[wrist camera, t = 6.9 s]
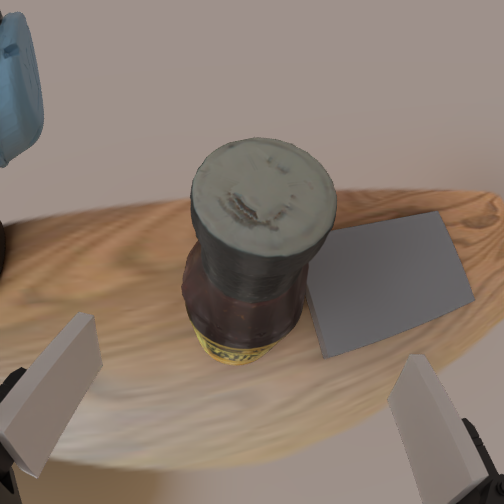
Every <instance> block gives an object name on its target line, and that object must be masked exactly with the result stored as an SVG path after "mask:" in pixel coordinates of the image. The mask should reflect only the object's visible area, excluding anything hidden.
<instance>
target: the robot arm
mask: <svg viewBox="0 0 504 504" xmlns="http://www.w3.org/2000/svg"><path fill="white" fill-rule="evenodd" d="M43 122H44V109H43V99H42V92H41V85H40V79H39V73H38V67H37V62H36V57H35V52H34V47H33V42H32V38H31V33H30V30H29V27H28V26H27V22H26V18H25V16H24V15H23V13H21V12H15V13H8V14H7V15H5V16H4V17H3V16H2V14H1V11H0V167H2V168H4V167H6V166H7V165H8V163H9V161H11V160H12V159H13V158H15V157H16V156H18V155H19V154H21V153H22V152H24V151H25V150H27V149H28V148H30V147H31V146H32V145H33V144H34V143H35V142H36V141H37V140H38V138H39V137H40V135H41V132H42V129H43V124H44V123H43ZM4 254H5V233H4V228H3V225H2V223H1V221H0V273H1V269H2V265H3V261H4ZM102 366H103V364H102V359H101V354H100V349H99V344H98V338H97V332H96V326H95V319H94V315H90V314H86V313H82V312H78V313H77V314H76V315H75V316H74V317H73V319H72V320H71V321H70V322H69V323H68V324H67V325H66V326H65V327H64V328H63V329H62V331H61V332H60V333H59V334H58V335H57V336H56V337H55V338H54V339H53V341H52V342H51V343H50V344H49V345H48V346H47V347H46V349H45V350H44V351H43V352H42V353H41V354H40V356H39V357H38V358H37V359H36V360H35V361H34V363H33V364H32V365H31V366H30V367H29V368H28V370H27V369H24V368H22V367H21V368H19V369H17V370H16V371H14V372H12V373H11V374H10V375H9V376H8V377H7V378H6V379H5V381H4V382H3V384H1V385H0V504H22V502H21V498H20V495H19V491H18V487H17V483H16V479H15V475H14V471H13V469H12V467H11V466H12V464H13V462H15V463H16V464H17V465H18V467H19V468H20V469H21V470H22V471H24V472H26V473H28V474H30V475H31V476H33V477H35V478H37V479H38V477H39V475H40V473H41V471H42V469H43V467H44V465H45V464H46V462H47V460H48V458H49V456H50V454H51V453H52V451H53V449H54V447H55V445H56V443H57V442H58V440H59V438H60V436H61V435H62V433H63V431H64V429H65V428H66V426H67V424H68V422H69V421H70V419H71V417H72V415H73V414H74V412H75V410H76V409H77V407H78V405H79V404H80V402H81V400H82V399H83V397H84V395H85V394H86V392H87V390H88V389H89V387H90V385H91V384H92V382H93V380H94V379H95V377H96V376H97V374H98V372H99V371H100V369H101V368H102ZM387 400H388V403H389V406H390V408H391V411H392V414H393V416H394V419H395V422H396V425H397V427H398V430H399V433H400V436H401V438H402V442H403V444H404V447H405V450H406V453H407V456H408V459H409V462H410V465H411V468H412V471H413V474H414V477H415V481H416V484H417V487H418V490H419V494H420V497H421V500H422V503H423V504H504V475H503V474H500V475H499V474H498V472H497V470H496V468H495V466H494V464H493V462H492V460H491V458H490V456H489V454H488V452H487V450H486V448H485V446H483V442H482V440H481V438H479V434H478V432H477V431H476V429H475V427H474V426H473V425H472V424H471V423H470V422H469V421H468V420H467V419H466V418H463V419H461V418H460V416H459V414H458V412H457V410H456V408H455V407H454V405H453V403H452V401H451V399H450V398H449V396H448V394H447V392H446V390H445V389H444V387H443V385H442V384H441V382H440V380H439V378H438V377H437V375H436V373H435V372H434V370H433V368H432V367H431V365H430V363H429V362H428V360H427V358H426V357H425V355H424V354H410V355H409V357H408V359H407V362H406V364H405V366H404V368H403V370H402V372H401V374H400V376H399V378H398V380H397V382H396V384H395V386H394V388H393V389H392V391H391V393H390V395H389V397H388V399H387Z"/></svg>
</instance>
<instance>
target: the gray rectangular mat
mask: <svg viewBox="0 0 504 504" xmlns="http://www.w3.org/2000/svg"><path fill="white" fill-rule="evenodd" d="M305 296H306V299H307V303H308V306H309V309H310V313H311V316H312V320H313V323H314V326H315V330H316V333H317V337H318V340H319V344H320V347H321V351H322V355H323V358H324V359H327V358H330V357H333V356H336V355H339V354H343V353H346V352H349V351H352V350H355V349H358V348H361V347H364V346H366V345H369V344H372V343H375V342H378V341H380V340H383V339H386V338H389V337H391V336H394V335H396V334H399V333H402V332H404V331H407V330H409V329H412V328H414V327H417V326H419V325H422V324H424V323H426V322H429V321H431V320H433V319H436V318H438V317H440V316H443V315H445V314H447V313H449V312H451V311H454V310H456V309H458V308H460V307H462V306H464V305H466V304H469V303H471V302H473V301H475V298H474V296H473V293H472V290H471V287H470V284H469V282H468V279H467V276H466V274H465V271H464V269H463V266H462V264H461V261H460V259H459V256H458V254H457V252H456V249H455V247H454V245H453V242H452V240H451V238H450V236H449V233H448V231H447V229H446V227H445V225H444V223H443V220H442V218H441V216H440V214H439V212H438V211H434V212H428V213H423V214H418V215H412V216H407V217H402V218H396V219H391V220H386V221H380V222H375V223H370V224H365V225H359V226H354V227H349V228H344V229H338V230H333V231H330V232H329V234H328V236H327V238H326V241H325V242H324V244H323V246H322V247H321V249H320V250H319V251H318V253H317V254H316V255H315V256H314V258H313V259H312V260H311V261H310V262H309V270H308V276H307V283H306V289H305Z"/></svg>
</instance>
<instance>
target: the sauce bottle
mask: <svg viewBox="0 0 504 504" xmlns="http://www.w3.org/2000/svg"><path fill="white" fill-rule="evenodd" d="M190 198H191V218H192V224H193V227H194V229H195V232H196V237H197V238H198V241H197V243H196V244H195V245H194V247H193V248H192V250H191V251H190V253H189V255H188V257H187V261H186V267H185V271H184V274H183V284H182V286H181V288H182V295H183V297H184V300H185V305H186V310H187V313H188V316H189V319H190V321H191V323H192V326H193V328H194V330H195V332H196V335H197V337H198V339H199V342H200V344H201V346H202V347H203V349H204V350H205V351H206V352H207V353H208V354H209V355H210V356H211V357H212V358H213V359H215V360H216V361H219V362H221V363H224V364H228V365H244V364H248V363H251V362H254V361H256V360H257V359H259V358H260V357H262V356H263V355H264V354H265V353H266V352H267V351H269V350H270V349H271V348H272V347H273V346H274V345H276V344H277V343H278V342H279V341H280V340H281V339H283V338H284V337H285V336H286V335H287V334H288V333H289V332H290V331H291V330H292V329H293V328H294V327H295V325H296V324H297V322H298V320H299V318H300V315H301V312H302V308H303V302H304V296H305V289H306V283H307V276H308V270H309V262H310V261H311V260H312V259H313V258H314V256H315V255H316V254H317V253H318V251H319V250H320V249H321V247H322V246H323V244H324V242H325V241H326V238H327V236H328V234H329V232H330V231H331V229H332V227H333V225H334V221H335V217H336V210H337V195H336V191H335V189H334V185H333V181H332V180H331V178H330V177H329V175H328V173H327V171H326V170H325V169H324V167H323V166H322V165H321V164H320V163H319V162H318V161H317V160H316V159H315V158H313V157H312V156H311V155H310V154H309V153H308V152H306V151H304V150H302V149H300V148H298V147H296V146H295V145H293V144H290V143H287V142H283V141H281V140H276V139H268V138H250V139H245V140H240V141H235V142H230V143H227V144H226V145H223V146H221V147H220V148H218V149H216V150H215V151H214V152H212V153H211V154H210V155H209V156H208V157H206V159H205V160H204V162H203V163H202V165H201V166H200V167H199V168H198V171H197V173H196V175H195V177H194V179H193V182H192V187H191V195H190Z"/></svg>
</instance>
